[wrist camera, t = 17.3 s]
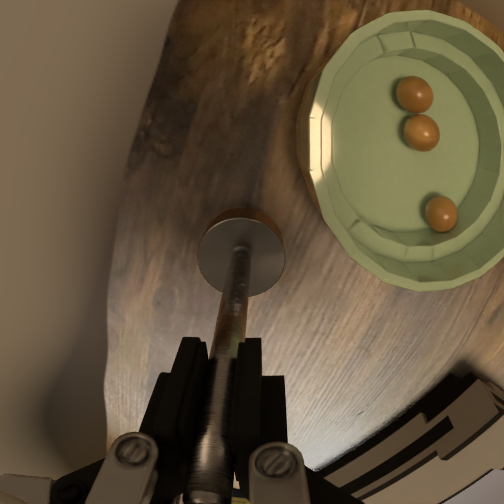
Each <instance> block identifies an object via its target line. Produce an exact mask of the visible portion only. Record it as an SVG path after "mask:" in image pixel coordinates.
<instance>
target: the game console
mask: <svg viewBox="0 0 504 504" xmlns="http://www.w3.org/2000/svg"><path fill="white" fill-rule="evenodd" d="M494 469H498V470H504V392H502V391H501V390H500V389H499V388H497V387H496V386H495V385H493V384H492V383H491V382H490V381H489V382H488V383H486V382H484V381H483V380H482V379H480V378H479V377H478V376H476V375H475V374H474V373H472V372H469V373H468V374H467V375H466V376H465V377H464V378H463V379H462V380H460V379H459V378H457V377H456V376H454V375H453V374H451V373H450V374H449V375H448V376H447V377H446V378H445V379H444V380H442V381H441V382H440V383H439V384H438V385H437V386H436V387H435V388H434V389H433V390H431V391H430V392H429V393H428V394H427V395H426V396H425V397H423V398H422V399H421V400H420V401H419V402H418V403H416V404H415V405H414V406H413V407H412V408H410V409H409V410H408V411H407V412H405V413H404V414H403V415H402V416H400V417H399V418H398V419H397V420H395V421H394V422H393V423H391V424H390V425H389V426H387V427H386V428H385V429H383V430H382V431H381V432H379V433H378V434H376V435H375V436H374V437H372V438H371V439H369V440H368V441H366V442H365V443H364V444H362V445H361V446H359V447H358V448H356V449H355V450H353V451H352V452H350V453H348V454H347V455H345V456H344V457H342V458H341V459H339V460H337V461H336V462H334V463H332V464H331V465H329V466H327V467H326V468H324V469H322V470H321V471H319V472H317V474H318V475H320V476H321V477H323V478H324V479H326V480H328V481H329V482H331V483H332V484H334V485H335V486H337V487H339V488H340V489H342V490H344V491H345V492H347V493H349V494H350V495H352V496H354V497H355V498H357V499H359V500H360V501H362V502H364V503H365V504H442V503H444V502H445V501H447V500H449V499H451V498H452V497H454V496H455V495H457V494H459V493H460V492H462V491H464V490H465V489H467V488H468V487H470V486H471V485H473V484H474V483H476V482H477V481H478V480H480V479H481V478H483V477H484V476H485V475H487V474H488V473H490V472H491V471H492V470H494Z"/></svg>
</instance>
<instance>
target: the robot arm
mask: <svg viewBox="0 0 504 504" xmlns="http://www.w3.org/2000/svg"><path fill="white" fill-rule="evenodd" d="M208 362H209V359H208V353H207V346H206V342H201V340H200V338H199V337H183V338H182V341H181V344H180V346H179V349H178V352H177V355H176V358H175V361H174V364H173V367H172V370H171V373H165V372H161V373H160V375H159V377H158V379H157V382H156V384H155V387H154V390H153V393H152V395H151V398H150V401H149V404H148V406H147V409H146V412H145V415H144V418H143V421H142V423H141V426H140V429H139V432H129V433H126V434H123V435H121V436H119V437H118V438H117V439H116V440H115V441H114V442H113V444H112V445H111V448H110V450H109V452H108V454H107V456H106V458H104V459H102V460H99V461H97V462H95V463H93V464H91V465H88V466H86V467H84V468H82V469H79V470H77V471H75V472H72V473H70V474H67V475H65V476H63V477H61V478H59V479H58V480H53V479H52V478H49V477H36V476H25V475H17V474H4V475H2V476H0V504H179V502H180V498H181V494H182V493H183V490H184V484H185V479H186V473H187V468H188V463H189V457H190V454H191V448H192V443H193V438H194V433H195V427H196V422H197V417H198V412H199V407H200V402H201V397H202V392H203V387H204V382H205V377H206V372H207V367H208ZM229 442H230V448H231V453H232V457H233V458H234V459H235V469H234V471H235V476H236V481H239V486H240V491H241V495H242V496H243V497H244V498H246V499H247V500H248V501H249V502H250V504H365V503H364V502H362V501H360V500H359V499H357V498H355V497H354V496H352V495H350V494H349V493H347V492H345V491H344V490H342V489H340V488H339V487H337V486H335V485H334V484H332V483H331V482H329V481H328V480H326V479H324V478H323V477H321V476H320V475H318V474H317V473H315V472H314V471H312V470H311V469H309V468H308V467H306V466H305V465H304V459H303V457H302V454H301V452H300V451H299V450H298V449H297V448H296V447H294V446H293V445H291V444H288V438H287V417H286V398H285V381H284V375H283V376H262V348H261V338H245V342H239V344H238V352H237V361H236V370H235V378H234V387H233V396H232V405H231V414H230V422H229Z"/></svg>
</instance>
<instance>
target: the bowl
mask: <svg viewBox="0 0 504 504" xmlns="http://www.w3.org/2000/svg"><path fill="white" fill-rule="evenodd" d="M407 76H417V77H420V78H422V79H424V80H425V81H426V82H427V83H428V84H429V85H430V87H431V88H432V91H433V97H434V98H433V103H432V105H431V107H430V108H429V109H428V110H427V111H425V112H423V113H418V114H424V115H427V116H429V117H431V118H432V119H433V120H434V121H435V122H436V123H437V125H438V127H439V130H440V139H439V142H438V144H437V146H436V147H435V148H434V149H432V150H431V151H428V152H419V151H416V150H414V149H413V148H411V147H410V146H409V145H408V144H407V142H406V140H405V138H404V134H403V129H404V125H405V122H406V121H407V119H408V118H410V117H411V116H413V115H416V114H417V113H411V112H409V111H407V110H405V109H404V108H403V107H402V106H401V105H400V103H399V102H398V100H397V97H396V88H397V85H398V83H399V82H400V81H401V80H402V79H403V78H405V77H407ZM296 135H297V161H298V164H299V166H300V169H301V172H302V176H303V179H304V182H305V185H306V188H307V191H308V194H309V196H310V198H311V199H312V201H313V203H314V204H315V206H316V207H317V209H318V211H319V212H320V214H321V216H322V217H323V219H324V221H325V222H326V224H327V225H328V226H329V228H330V229H331V231H332V232H333V234H334V235H335V236H336V238H337V239H338V241H339V242H340V244H341V245H342V247H343V248H344V250H345V251H346V253H347V254H348V256H349V257H350V258H351V259H353V260H354V261H355V262H357V263H358V264H359V265H361V266H362V267H363V268H365V269H366V270H367V271H369V272H370V273H371V274H373V275H374V276H375V277H377V278H378V279H379V280H381V281H383V282H385V283H389V284H392V285H395V286H399V287H402V288H406V289H409V290H413V291H416V292H417V291H418V292H419V291H433V290H446V289H453V288H455V287H457V286H460V285H462V284H464V283H467V282H469V281H471V280H474V279H476V278H478V277H480V276H482V275H483V274H484V273H486V272H487V271H488V270H489V269H490V268H492V267H493V266H494V265H495V264H496V263H497V262H498V261H500V260H501V259H502V258H503V257H504V52H503V51H502V50H501V49H500V47H499V46H498V45H497V44H496V43H494V42H493V41H492V40H490V39H489V38H488V37H487V36H485V35H484V34H482V33H481V32H480V31H478V30H477V29H476V28H474V27H473V26H471V25H470V24H468V23H467V22H465V21H462V20H459V19H457V18H454V17H450V16H447V15H444V14H441V13H438V12H434V11H431V10H413V11H400V12H390V13H387V14H385V15H383V16H381V17H379V18H377V19H375V20H373V21H371V22H370V23H368V24H366V25H364V26H362V27H360V28H359V29H357V30H355V31H353V32H352V33H351V34H350V35H349V36H348V37H347V38H346V39H345V40H344V41H343V42H342V43H341V44H340V45H339V46H338V47H337V48H336V49H335V50H334V51H333V52H332V53H331V54H330V55H329V56H328V57H327V58H326V60H325V61H324V62H323V64H322V65H321V66H320V68H319V69H318V70H317V71H316V73H315V74H314V75H313V77H312V78H311V79H310V81H309V82H308V84H307V87H306V90H305V93H304V96H303V99H302V103H301V106H300V109H299V112H298V115H297V120H296ZM436 196H445V197H448V198H449V199H451V200H452V201H453V202H454V204H455V205H456V207H457V211H458V218H457V222H456V224H455V225H454V227H453V228H452V229H450V230H449V231H446V232H438V231H435V230H433V229H432V228H431V227H430V226H429V225H428V223H427V221H426V219H425V208H426V205H427V203H428V202H429V201H430V200H431V199H432V198H434V197H436Z"/></svg>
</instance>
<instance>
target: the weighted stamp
mask: <svg viewBox="0 0 504 504" xmlns="http://www.w3.org/2000/svg"><path fill="white" fill-rule="evenodd" d="M197 259H198V265H199V268H200V271H201V273H202V275H203V276H204V278H205V279H206V281H207V282H208V283H209V284H210V285H211V286H212V287H214V288H215V289H217V290H218V291H220V292H222V293H223V294H222V299H221V303H220V308H219V313H218V317H217V322H216V327H215V332H214V336H213V341H212V346H211V351H210V356H209V362H208V367H207V372H206V377H205V382H204V387H203V392H202V397H201V402H200V407H199V412H198V417H197V422H196V427H195V433H194V438H193V443H192V448H191V454H190V457H189V463H188V468H187V473H186V479H185V484H184V490H183V496H182V500H183V504H232V494H233V482H234V469H235V459H234V458H233V457H232V453H231V448H230V442H229V422H230V414H231V405H232V396H233V387H234V378H235V370H236V361H237V352H238V344H239V342H245V334H246V322H247V310H248V298H249V297H250V296H255V295H258V294H261V293H263V292H265V291H267V290H268V289H269V288H271V287H272V286H273V285H274V284H275V283H276V282H277V281H278V279H279V278H280V276H281V274H282V272H283V269H284V266H285V250H284V243H283V237H282V234H281V232H280V229H279V228H278V226H277V225H276V223H275V222H274V221H273V220H272V219H271V218H270V217H269V216H267V215H266V214H264V213H262V212H260V211H258V210H255V209H251V208H233V209H229V210H226V211H224V212H222V213H220V214H219V215H217V216H216V217H215V218H214V219H213V220H212V221H211V222H210V223H209V225H208V226H207V228H206V231H205V233H204V235H203V237H202V239H201V241H200V243H199V247H198V252H197Z"/></svg>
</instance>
